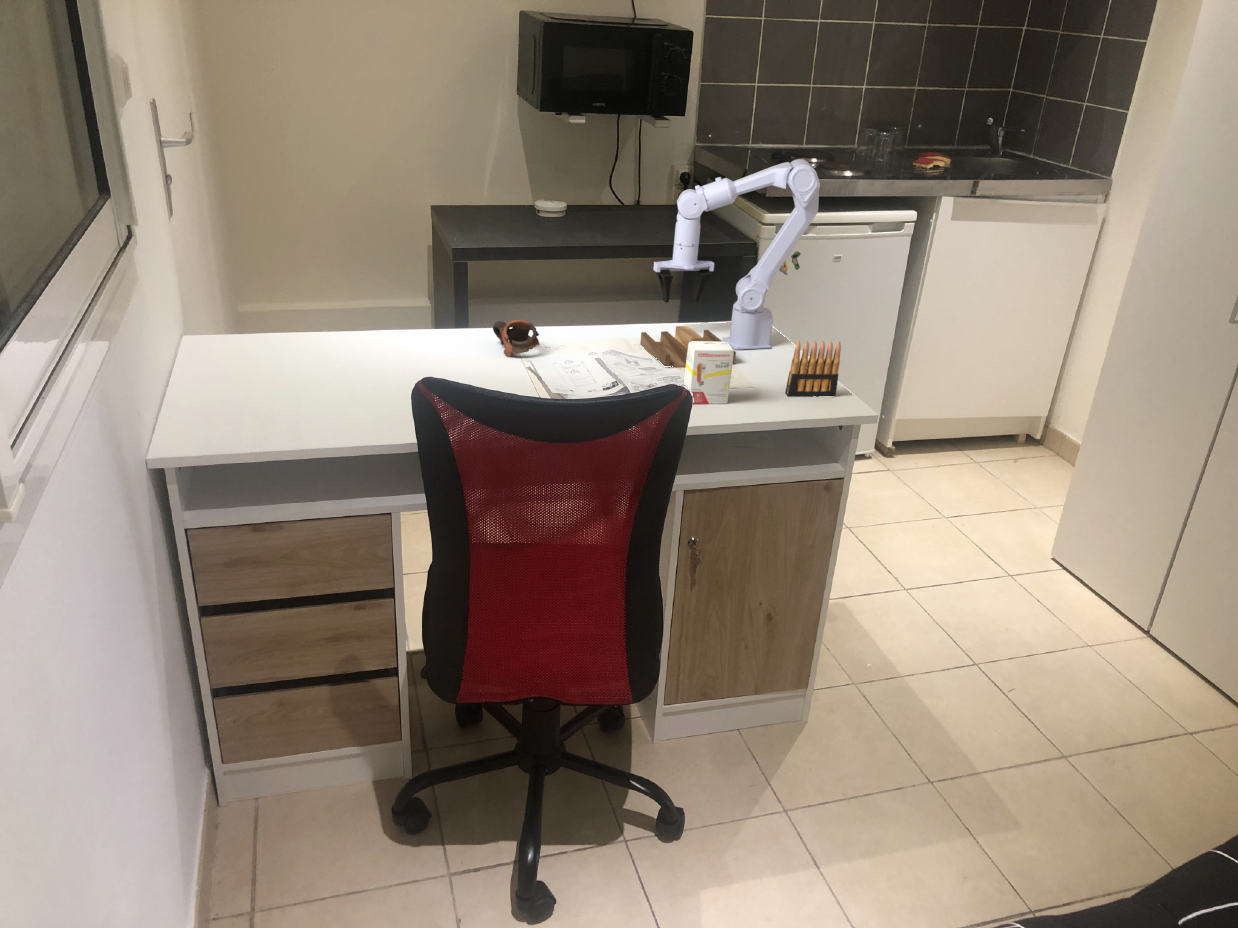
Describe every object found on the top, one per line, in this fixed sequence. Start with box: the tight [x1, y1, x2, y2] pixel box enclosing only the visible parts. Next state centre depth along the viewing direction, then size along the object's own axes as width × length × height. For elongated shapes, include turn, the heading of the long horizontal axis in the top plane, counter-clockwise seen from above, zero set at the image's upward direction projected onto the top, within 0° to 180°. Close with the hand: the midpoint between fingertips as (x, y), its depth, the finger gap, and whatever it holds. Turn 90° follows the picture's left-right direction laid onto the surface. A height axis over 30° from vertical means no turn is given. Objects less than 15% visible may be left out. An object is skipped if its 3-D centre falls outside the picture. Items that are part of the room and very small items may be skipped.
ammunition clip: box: [784, 340, 842, 398], centre depth 199 cm, size 11×2×12 cm, turn 99°
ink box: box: [683, 341, 735, 405], centre depth 192 cm, size 9×5×12 cm, turn 101°
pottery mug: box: [492, 319, 541, 358], centre depth 212 cm, size 12×10×8 cm
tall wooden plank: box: [674, 325, 703, 349], centre depth 218 cm, size 3×9×5 cm, turn 19°
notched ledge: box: [640, 329, 737, 368], centre depth 219 cm, size 17×16×3 cm
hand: (680, 301), depth 225 cm, fingers open, 7 cm apart
